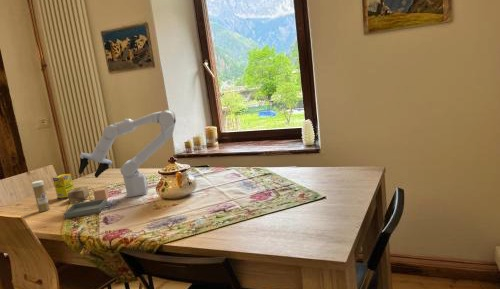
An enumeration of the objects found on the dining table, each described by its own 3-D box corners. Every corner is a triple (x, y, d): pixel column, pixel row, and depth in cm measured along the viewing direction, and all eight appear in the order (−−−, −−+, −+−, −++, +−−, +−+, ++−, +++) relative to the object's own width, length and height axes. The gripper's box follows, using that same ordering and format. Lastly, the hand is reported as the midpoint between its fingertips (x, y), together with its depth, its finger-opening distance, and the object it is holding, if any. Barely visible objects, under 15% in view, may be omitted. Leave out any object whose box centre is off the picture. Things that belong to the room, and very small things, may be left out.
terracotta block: (109, 196, 179) (107, 186, 178) (106, 200, 174) (104, 189, 173) (98, 198, 179) (96, 188, 178) (95, 202, 174) (93, 191, 173)
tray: (107, 203, 169) (106, 198, 169) (100, 212, 157) (99, 207, 157) (74, 208, 168) (73, 204, 167) (64, 218, 156) (63, 213, 156)
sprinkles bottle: (44, 212, 169) (36, 182, 167) (36, 212, 171) (28, 183, 168) (52, 208, 174) (45, 179, 171) (44, 208, 175) (37, 180, 173)
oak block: (89, 196, 186) (87, 186, 185) (85, 200, 179) (82, 190, 178) (74, 198, 185) (72, 188, 184) (69, 203, 178) (67, 192, 177)
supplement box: (68, 198, 186) (62, 177, 184) (57, 199, 187) (52, 178, 185) (75, 194, 191) (70, 173, 189) (65, 195, 193) (60, 174, 191)
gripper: (113, 149, 180) (99, 173, 182) (83, 140, 169) (69, 166, 171) (118, 156, 175) (104, 181, 177) (89, 147, 165) (74, 174, 166)
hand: (87, 174), depth 174 cm, fingers open, 7 cm apart
